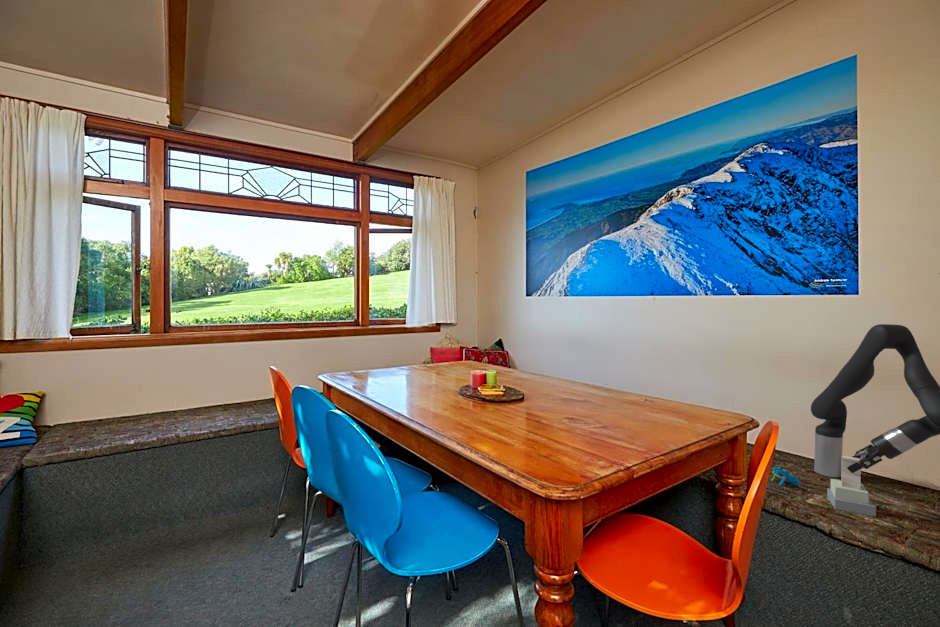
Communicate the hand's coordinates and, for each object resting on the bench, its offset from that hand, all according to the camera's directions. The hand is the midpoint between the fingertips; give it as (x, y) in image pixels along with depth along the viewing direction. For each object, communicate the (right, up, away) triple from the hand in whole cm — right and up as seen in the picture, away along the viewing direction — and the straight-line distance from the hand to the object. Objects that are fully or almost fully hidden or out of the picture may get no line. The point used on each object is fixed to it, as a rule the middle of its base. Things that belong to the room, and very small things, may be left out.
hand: (848, 466), depth 154 cm
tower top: (0, -11, 0) cm, 11 cm away
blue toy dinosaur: (-10, -14, +18) cm, 25 cm away
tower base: (0, -15, 0) cm, 15 cm away
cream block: (+1, -7, 0) cm, 7 cm away
